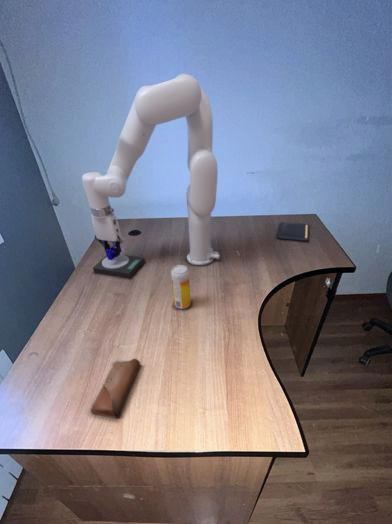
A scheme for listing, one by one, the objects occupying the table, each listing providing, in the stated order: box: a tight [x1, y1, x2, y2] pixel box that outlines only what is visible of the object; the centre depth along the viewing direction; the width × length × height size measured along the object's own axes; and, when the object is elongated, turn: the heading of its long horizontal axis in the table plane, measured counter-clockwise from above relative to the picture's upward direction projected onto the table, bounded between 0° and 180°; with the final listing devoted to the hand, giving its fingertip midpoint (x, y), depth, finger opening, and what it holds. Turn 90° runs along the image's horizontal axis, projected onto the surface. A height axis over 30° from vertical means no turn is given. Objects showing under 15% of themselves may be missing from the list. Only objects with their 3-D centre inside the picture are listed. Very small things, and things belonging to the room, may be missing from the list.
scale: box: [92, 253, 146, 279], centre depth 119 cm, size 18×14×3 cm
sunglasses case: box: [90, 358, 141, 419], centre depth 74 cm, size 18×7×7 cm
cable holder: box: [105, 242, 123, 260], centre depth 115 cm, size 8×4×4 cm, turn 161°
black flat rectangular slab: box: [277, 221, 310, 243], centre depth 138 cm, size 20×2×15 cm
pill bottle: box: [170, 264, 191, 310], centre depth 94 cm, size 6×6×15 cm
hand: (113, 254), depth 116 cm, fingers closed on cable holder, 3 cm apart
